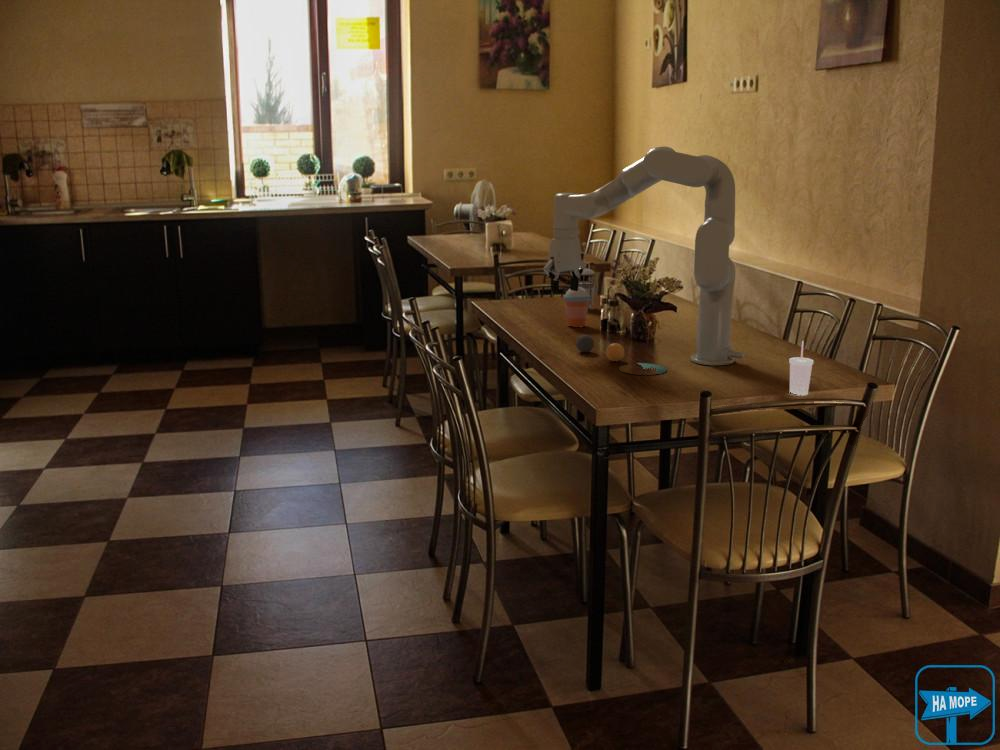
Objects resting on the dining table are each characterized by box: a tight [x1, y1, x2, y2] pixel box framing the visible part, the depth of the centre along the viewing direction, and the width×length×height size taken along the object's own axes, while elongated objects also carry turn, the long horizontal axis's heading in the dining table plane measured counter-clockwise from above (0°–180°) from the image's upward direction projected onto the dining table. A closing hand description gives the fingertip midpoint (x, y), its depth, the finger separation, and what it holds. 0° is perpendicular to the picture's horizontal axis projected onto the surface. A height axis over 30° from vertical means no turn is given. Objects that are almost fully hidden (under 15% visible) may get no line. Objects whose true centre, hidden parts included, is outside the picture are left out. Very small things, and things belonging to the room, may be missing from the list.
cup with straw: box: [563, 287, 591, 328], centre depth 336 cm, size 9×9×18 cm
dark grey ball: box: [575, 334, 595, 354], centre depth 299 cm, size 6×6×6 cm
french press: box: [578, 242, 599, 308], centre depth 367 cm, size 10×12×25 cm
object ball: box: [605, 342, 625, 362], centre depth 288 cm, size 6×6×6 cm
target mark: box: [636, 362, 668, 375], centre depth 279 cm, size 14×14×1 cm
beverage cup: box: [788, 340, 814, 397], centre depth 254 cm, size 6×6×14 cm
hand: (564, 291), depth 303 cm, fingers open, 6 cm apart
